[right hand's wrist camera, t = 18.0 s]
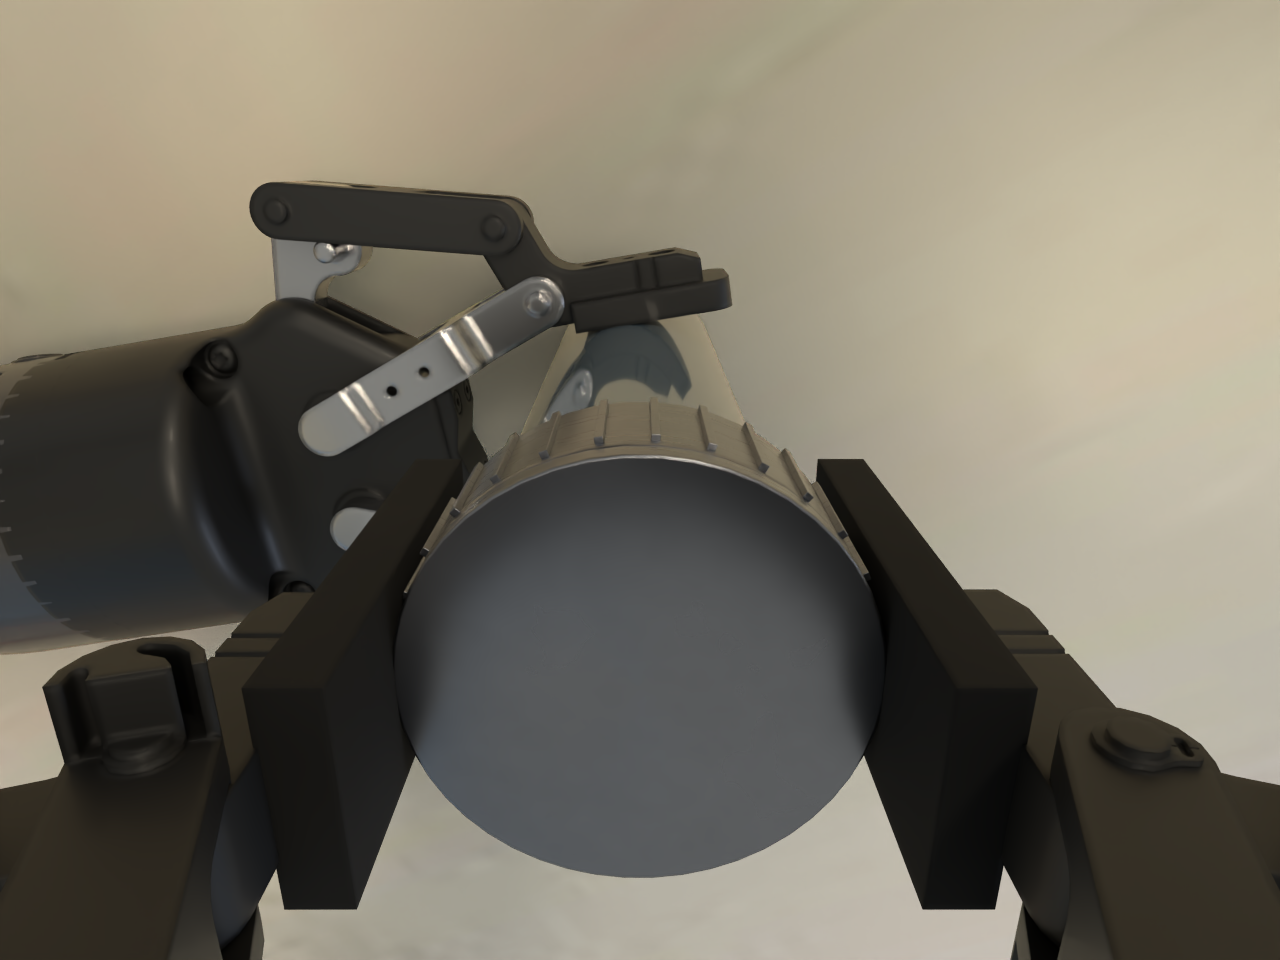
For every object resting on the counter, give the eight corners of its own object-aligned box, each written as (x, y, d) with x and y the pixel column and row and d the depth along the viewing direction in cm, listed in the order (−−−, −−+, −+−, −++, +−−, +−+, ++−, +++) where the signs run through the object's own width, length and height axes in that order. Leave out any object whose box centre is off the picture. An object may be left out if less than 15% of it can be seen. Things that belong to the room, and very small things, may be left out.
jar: (726, 298, 27) (866, 505, 10) (693, 441, 28) (770, 815, 12) (574, 268, 26) (472, 434, 10) (550, 415, 28) (429, 763, 12)
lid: (386, 707, 13) (336, 813, 11) (494, 331, 11) (457, 371, 9) (755, 810, 14) (777, 930, 11) (920, 475, 12) (983, 545, 9)
